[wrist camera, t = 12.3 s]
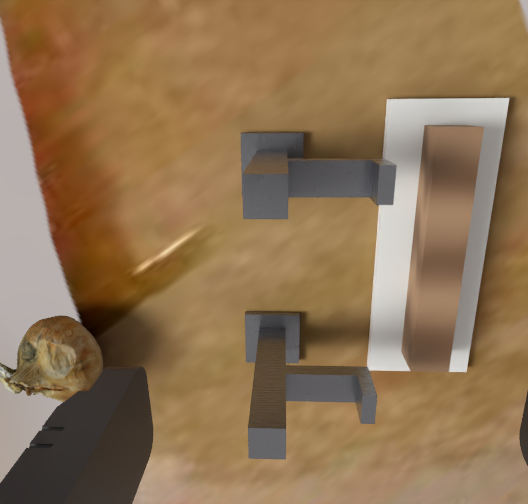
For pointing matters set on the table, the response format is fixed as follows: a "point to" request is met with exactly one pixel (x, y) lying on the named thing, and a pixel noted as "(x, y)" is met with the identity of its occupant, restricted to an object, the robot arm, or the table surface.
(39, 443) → the robot arm
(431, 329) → the rail
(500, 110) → the mat
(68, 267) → the table surface
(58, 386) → the onion
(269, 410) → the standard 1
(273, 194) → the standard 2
